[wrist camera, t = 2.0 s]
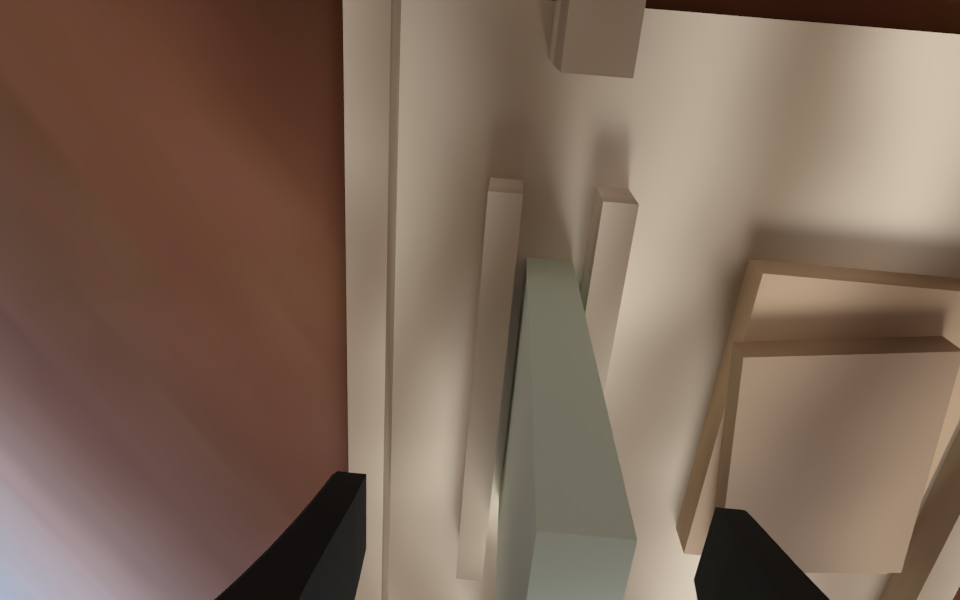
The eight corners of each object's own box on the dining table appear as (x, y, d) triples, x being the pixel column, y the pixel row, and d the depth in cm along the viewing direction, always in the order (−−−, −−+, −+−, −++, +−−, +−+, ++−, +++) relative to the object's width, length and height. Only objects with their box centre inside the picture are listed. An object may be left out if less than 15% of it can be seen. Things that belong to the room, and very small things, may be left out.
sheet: (572, 262, 16) (637, 540, 7) (537, 502, 19) (553, 891, 11) (526, 257, 16) (536, 529, 7) (498, 498, 19) (484, 884, 11)
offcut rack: (1152, 51, 14) (1455, 65, 10) (863, 651, 22) (952, 812, 18) (364, -15, 14) (293, -31, 10) (364, 600, 23) (325, 745, 18)
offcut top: (942, 335, 15) (963, 351, 15) (885, 550, 18) (901, 572, 17) (732, 341, 16) (743, 357, 15) (709, 551, 18) (717, 573, 18)
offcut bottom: (988, 280, 16) (1016, 296, 15) (869, 547, 19) (886, 573, 18) (748, 259, 16) (763, 273, 15) (676, 528, 19) (684, 553, 19)
